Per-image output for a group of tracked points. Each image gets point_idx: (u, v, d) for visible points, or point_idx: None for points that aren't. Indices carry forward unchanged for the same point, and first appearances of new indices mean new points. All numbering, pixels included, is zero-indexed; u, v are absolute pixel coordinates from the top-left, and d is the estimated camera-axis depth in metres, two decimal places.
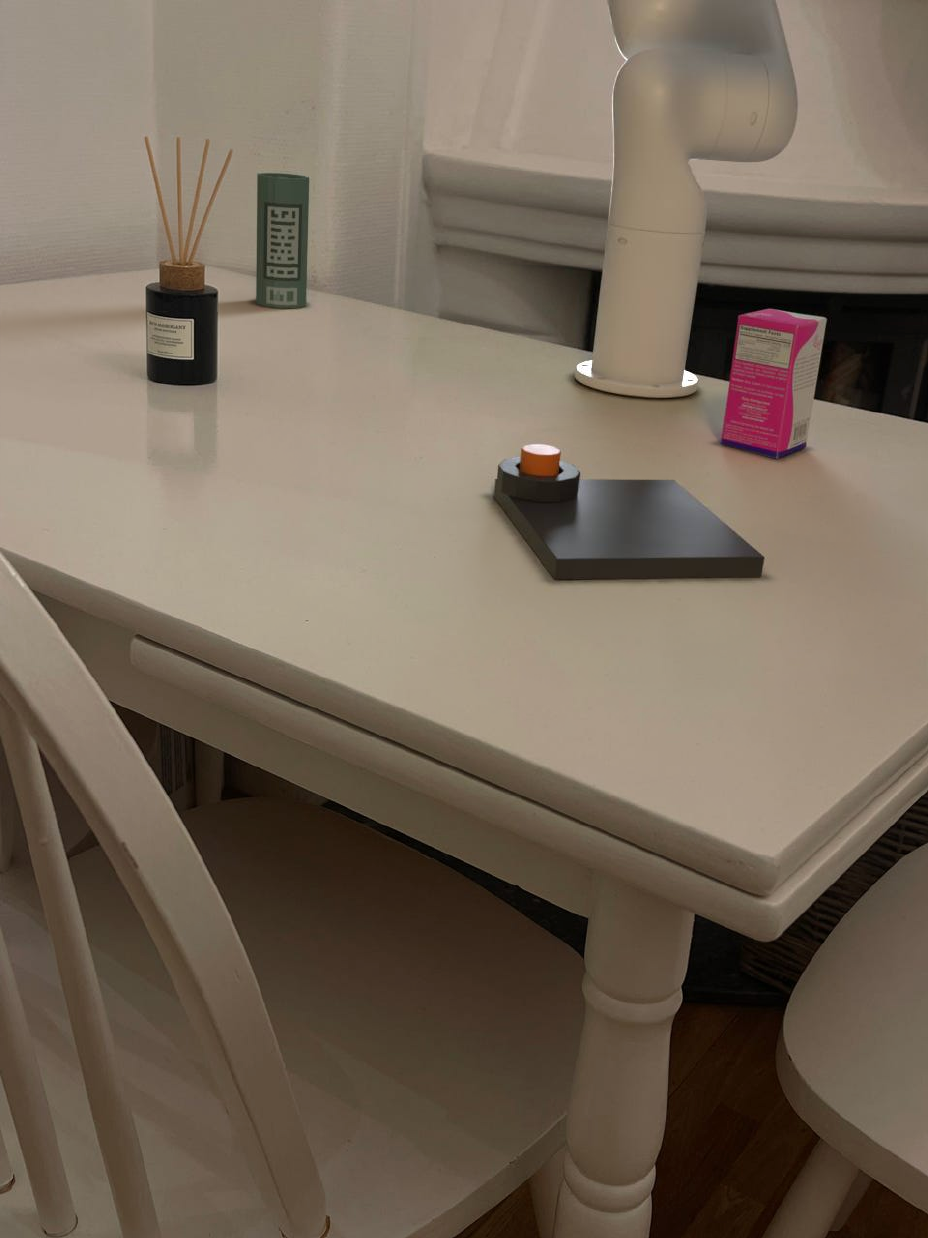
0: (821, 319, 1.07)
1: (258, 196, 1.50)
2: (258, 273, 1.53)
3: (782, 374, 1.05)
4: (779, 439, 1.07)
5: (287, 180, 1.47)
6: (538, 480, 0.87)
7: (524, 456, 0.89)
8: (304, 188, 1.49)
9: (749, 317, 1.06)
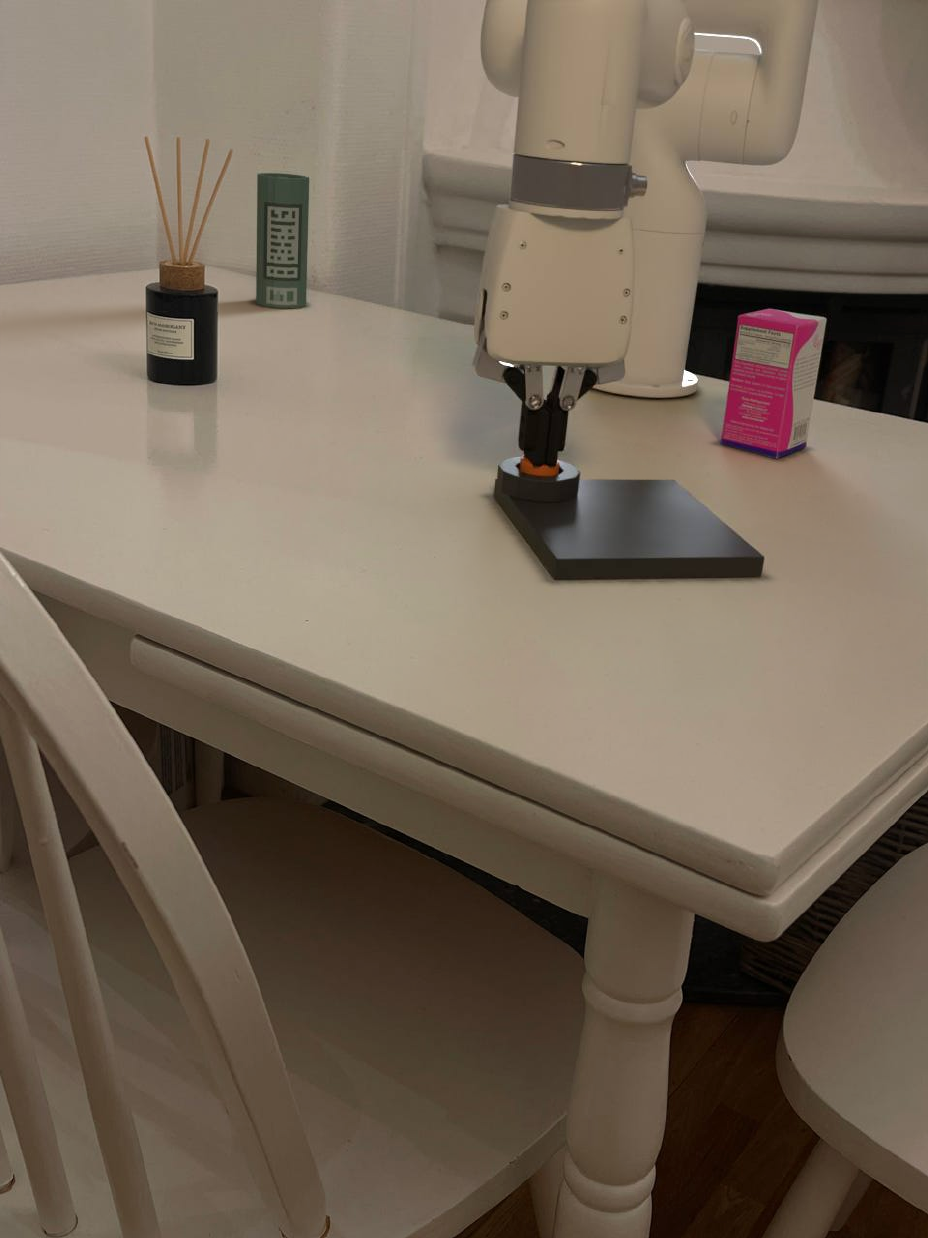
0: (821, 319, 1.07)
1: (258, 196, 1.50)
2: (258, 273, 1.53)
3: (782, 374, 1.05)
4: (779, 439, 1.07)
5: (287, 180, 1.47)
6: (538, 480, 0.87)
7: (523, 467, 0.89)
8: (304, 188, 1.49)
9: (749, 317, 1.06)
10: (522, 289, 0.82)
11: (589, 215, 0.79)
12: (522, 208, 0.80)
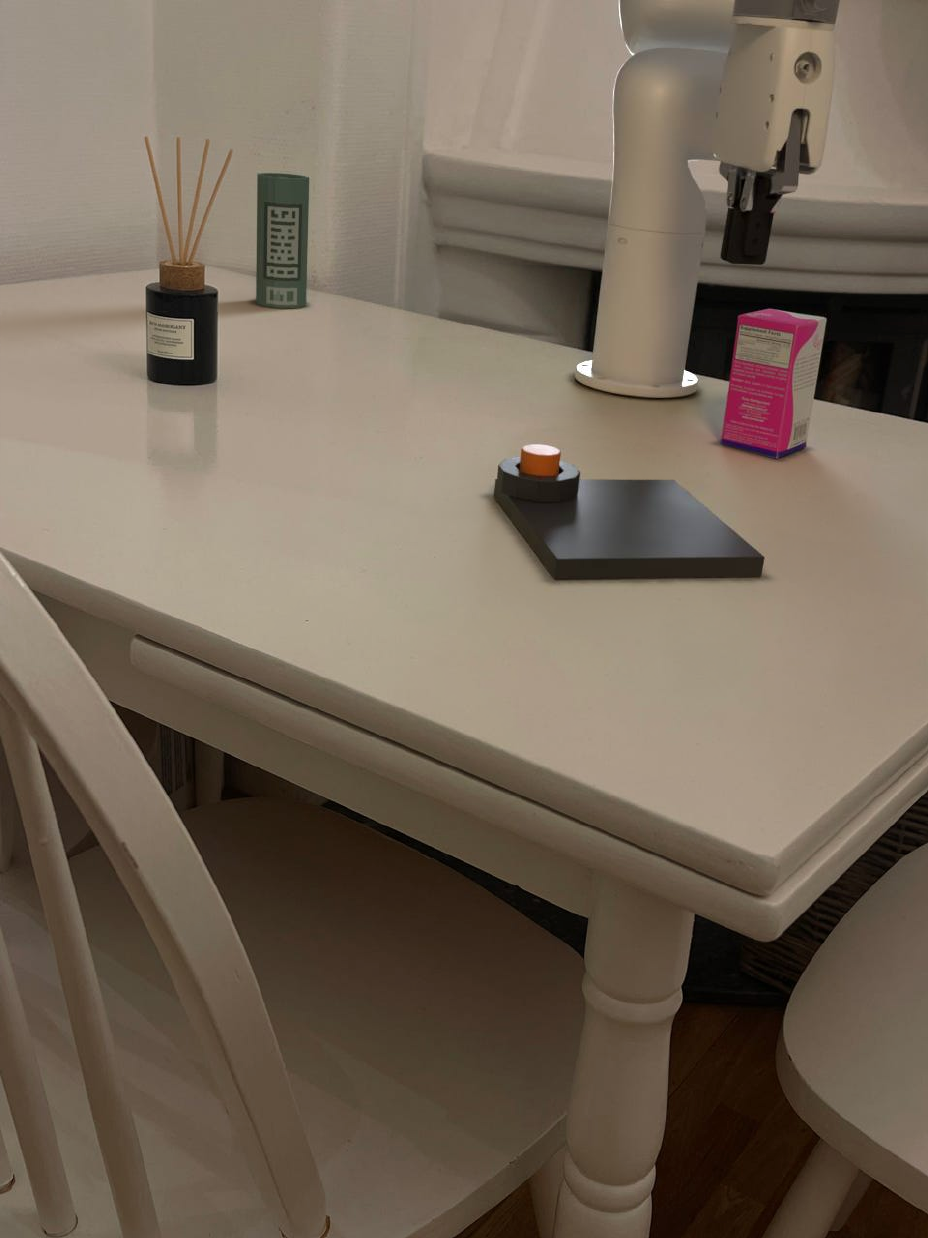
0: (821, 319, 1.07)
1: (258, 196, 1.50)
2: (258, 273, 1.53)
3: (782, 374, 1.05)
4: (779, 439, 1.07)
5: (287, 180, 1.47)
6: (538, 480, 0.87)
7: (524, 456, 0.89)
8: (304, 188, 1.49)
9: (749, 317, 1.06)
10: (724, 92, 0.97)
11: (739, 20, 0.91)
12: None
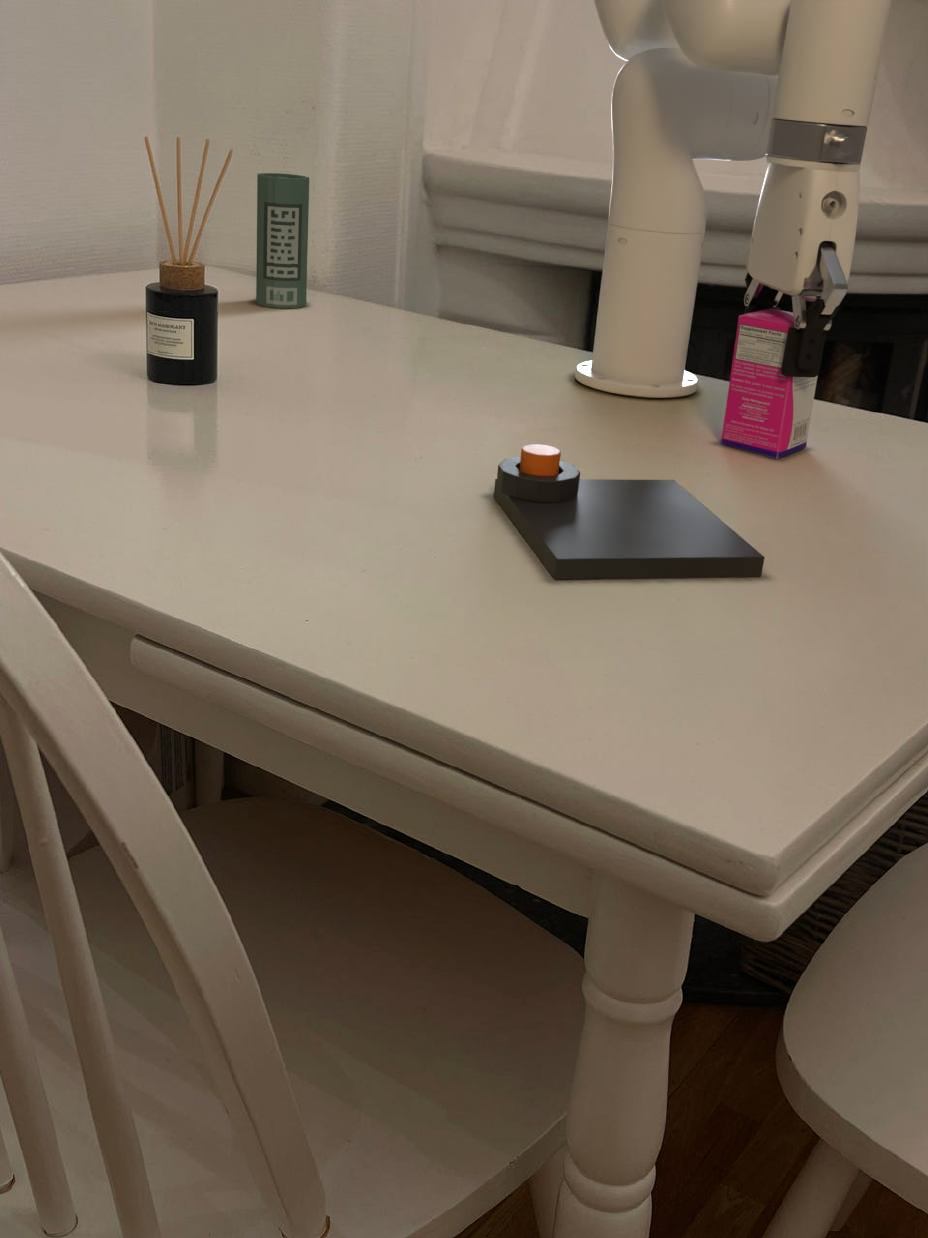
0: None
1: (258, 196, 1.50)
2: (258, 273, 1.53)
3: None
4: (779, 440, 1.07)
5: (287, 180, 1.47)
6: (538, 480, 0.87)
7: (524, 456, 0.89)
8: (304, 188, 1.49)
9: (749, 317, 1.06)
10: (759, 220, 1.06)
11: (772, 160, 1.01)
12: None
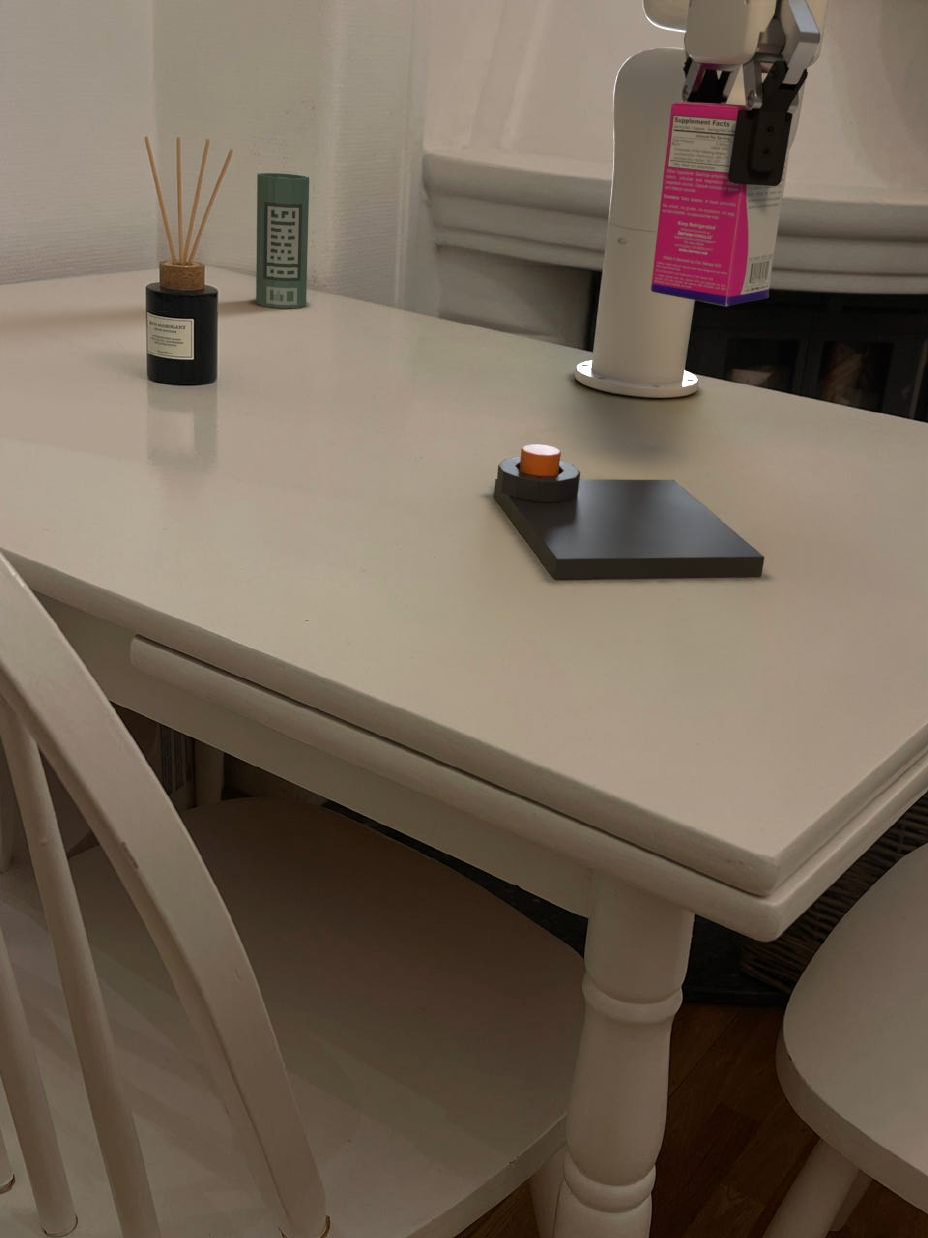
0: None
1: (258, 196, 1.50)
2: (258, 273, 1.53)
3: (732, 183, 0.75)
4: (728, 278, 0.77)
5: (287, 180, 1.47)
6: (538, 480, 0.87)
7: (524, 456, 0.89)
8: (304, 188, 1.49)
9: (686, 104, 0.75)
10: None
11: None
12: None
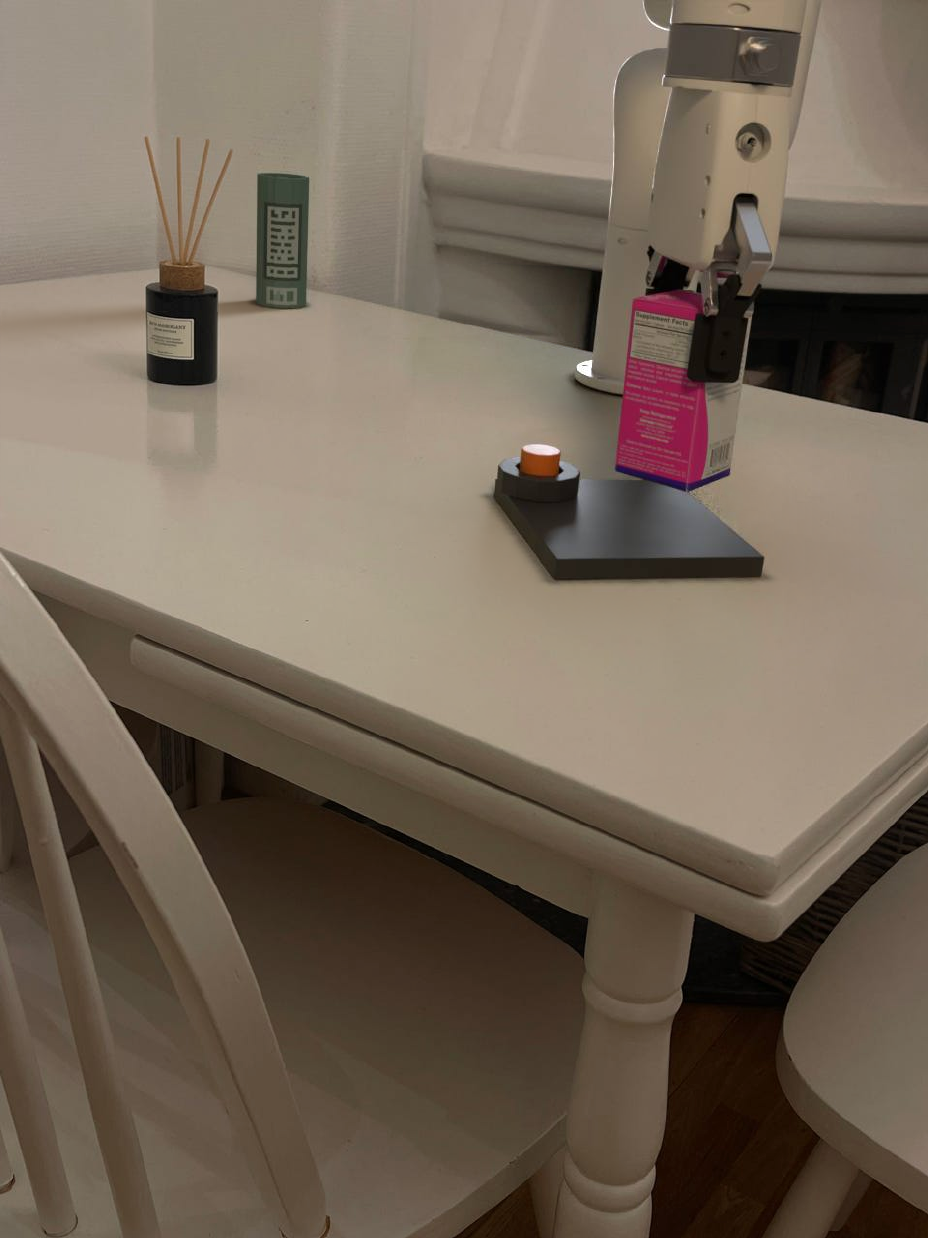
0: None
1: (258, 196, 1.50)
2: (258, 273, 1.53)
3: None
4: (688, 467, 0.79)
5: (287, 180, 1.47)
6: (538, 480, 0.87)
7: (524, 456, 0.89)
8: (304, 188, 1.49)
9: (647, 300, 0.78)
10: (659, 169, 0.78)
11: (669, 82, 0.72)
12: None
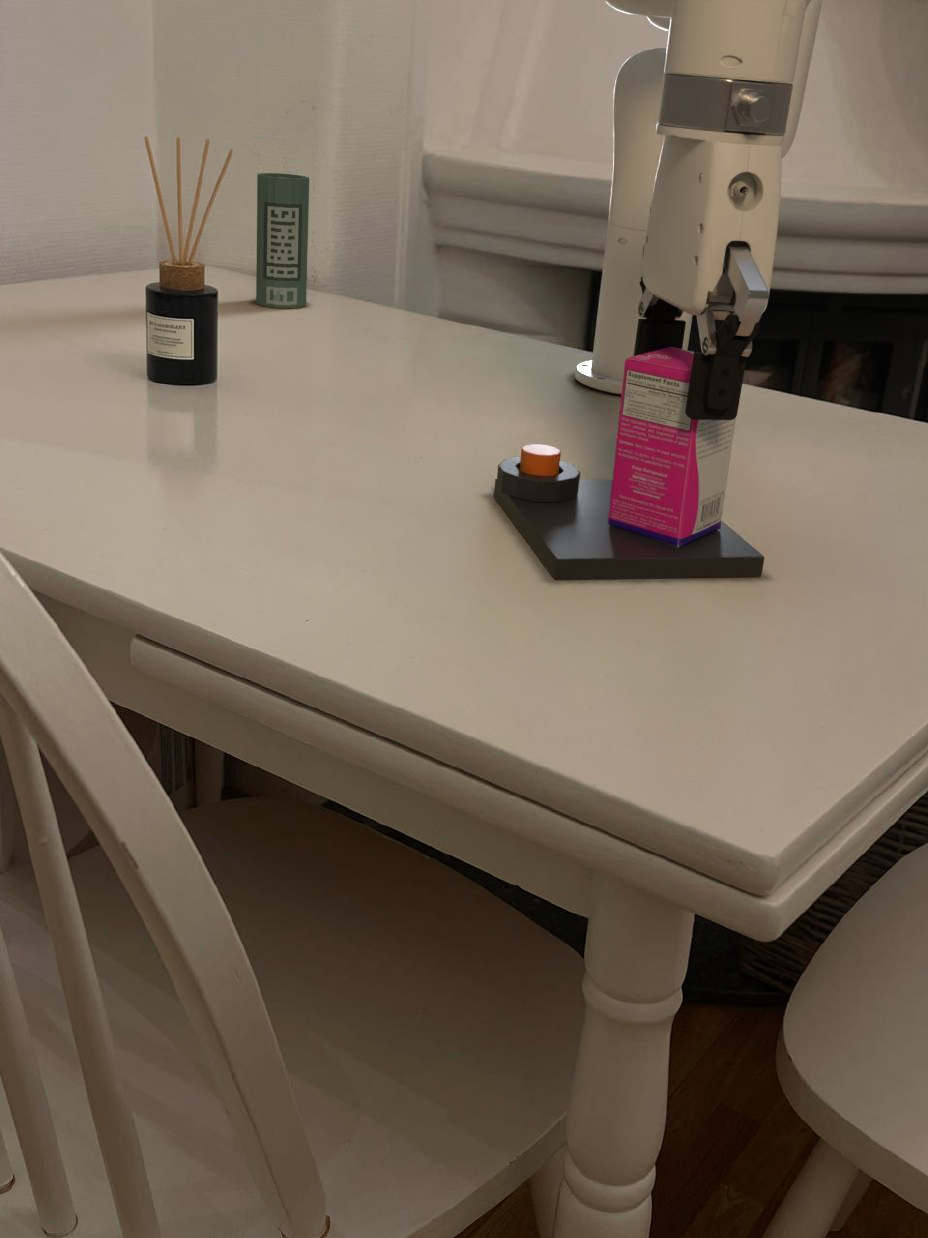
0: None
1: (258, 196, 1.50)
2: (258, 273, 1.53)
3: (682, 438, 0.79)
4: (680, 523, 0.81)
5: (287, 180, 1.47)
6: (538, 480, 0.87)
7: (524, 456, 0.89)
8: (304, 188, 1.49)
9: (639, 361, 0.79)
10: (653, 213, 0.79)
11: (663, 131, 0.74)
12: None
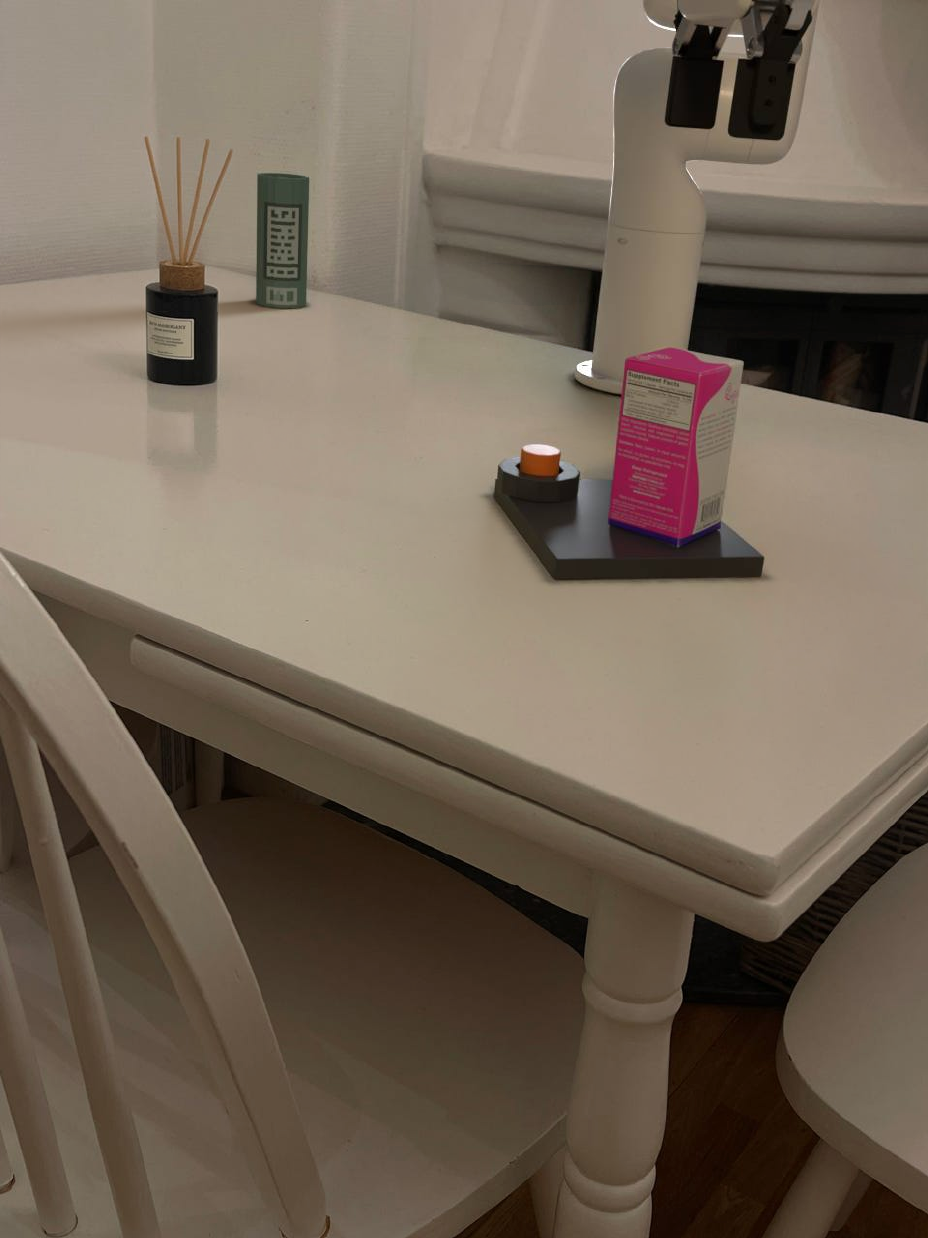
0: (736, 363, 0.80)
1: (258, 196, 1.50)
2: (258, 273, 1.53)
3: (682, 438, 0.79)
4: (680, 523, 0.81)
5: (287, 180, 1.47)
6: (538, 480, 0.87)
7: (524, 456, 0.89)
8: (304, 188, 1.49)
9: (639, 361, 0.79)
10: None
11: None
12: None
